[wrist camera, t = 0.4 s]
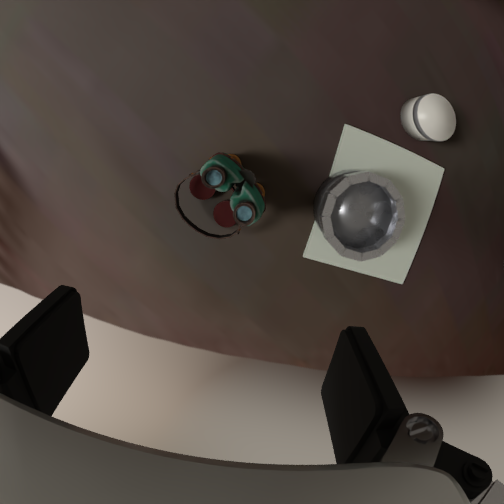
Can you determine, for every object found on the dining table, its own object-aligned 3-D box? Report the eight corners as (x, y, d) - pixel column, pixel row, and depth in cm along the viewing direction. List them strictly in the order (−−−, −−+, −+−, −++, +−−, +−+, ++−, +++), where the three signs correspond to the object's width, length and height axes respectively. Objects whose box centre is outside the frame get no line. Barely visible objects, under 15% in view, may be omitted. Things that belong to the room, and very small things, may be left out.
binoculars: (141, 211, 29) (216, 142, 26) (175, 190, 38) (234, 139, 35) (201, 278, 31) (280, 219, 28) (220, 241, 40) (280, 195, 37)
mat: (344, 124, 34) (345, 123, 34) (443, 168, 36) (444, 168, 35) (302, 256, 40) (303, 257, 40) (401, 283, 41) (402, 284, 41)
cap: (405, 90, 33) (423, 84, 28) (440, 109, 33) (460, 107, 28) (395, 130, 34) (413, 129, 30) (431, 147, 35) (450, 149, 30)
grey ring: (327, 158, 36) (339, 160, 30) (395, 184, 36) (415, 190, 31) (303, 233, 39) (310, 247, 33) (371, 253, 40) (386, 269, 34)
